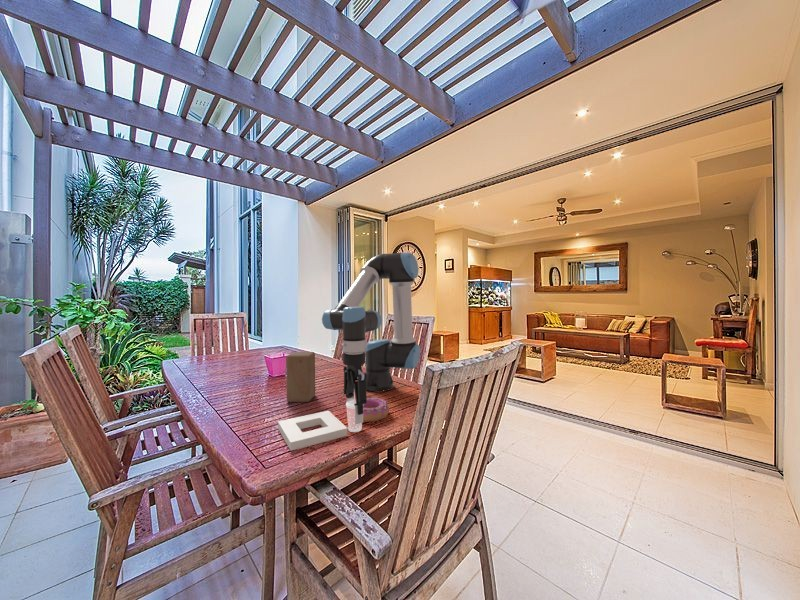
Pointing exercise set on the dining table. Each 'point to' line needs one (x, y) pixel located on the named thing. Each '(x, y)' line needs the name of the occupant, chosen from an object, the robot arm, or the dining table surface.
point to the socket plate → (300, 440)
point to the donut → (375, 409)
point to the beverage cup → (352, 416)
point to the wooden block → (300, 376)
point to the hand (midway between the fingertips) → (354, 419)
